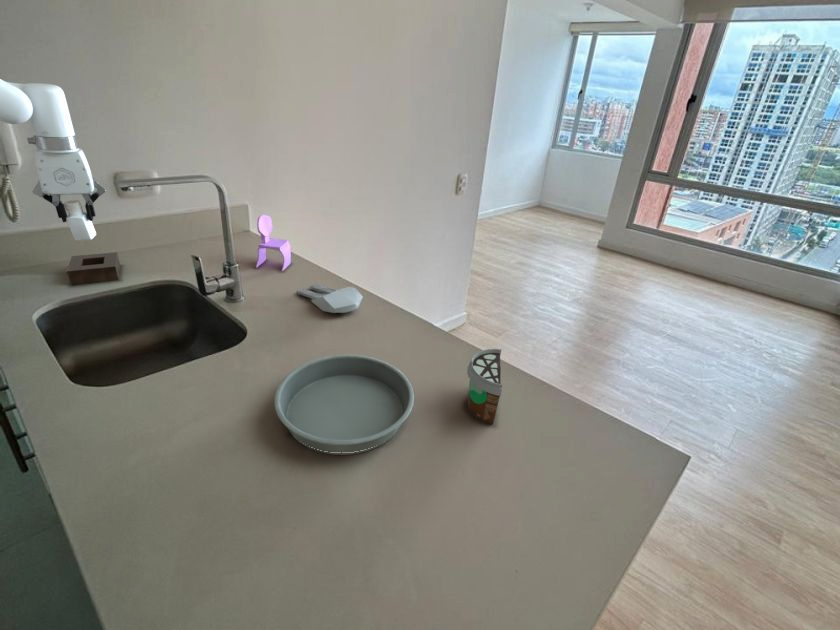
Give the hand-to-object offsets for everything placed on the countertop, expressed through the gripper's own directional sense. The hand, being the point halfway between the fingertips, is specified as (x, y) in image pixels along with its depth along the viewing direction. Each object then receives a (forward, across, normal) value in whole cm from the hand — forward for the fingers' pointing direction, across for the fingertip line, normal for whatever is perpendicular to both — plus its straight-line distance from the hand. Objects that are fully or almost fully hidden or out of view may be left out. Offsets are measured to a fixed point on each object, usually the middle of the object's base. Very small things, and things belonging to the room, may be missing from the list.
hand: (78, 219), depth 112 cm
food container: (+15, +68, -84) cm, 109 cm away
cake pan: (+15, +44, -76) cm, 89 cm away
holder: (+16, +1, 0) cm, 16 cm away
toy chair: (+15, +46, -7) cm, 49 cm away
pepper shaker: (+5, +1, 0) cm, 5 cm away
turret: (+15, +54, -35) cm, 66 cm away
